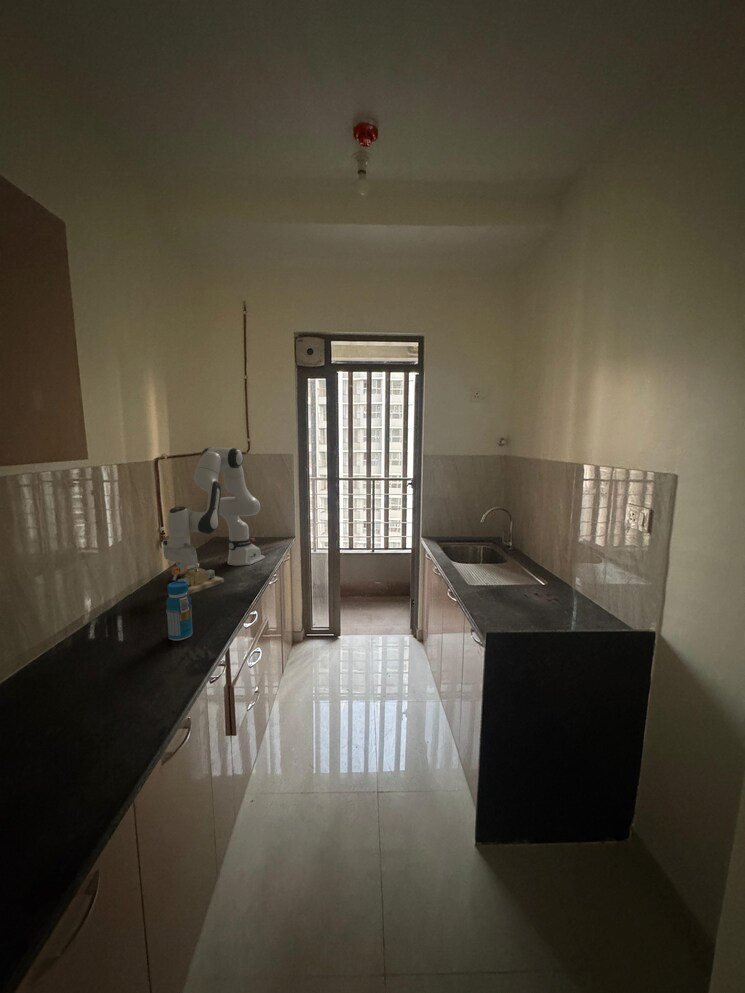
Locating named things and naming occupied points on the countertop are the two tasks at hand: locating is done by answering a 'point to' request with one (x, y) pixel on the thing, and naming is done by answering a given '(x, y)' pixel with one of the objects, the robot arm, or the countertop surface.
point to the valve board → (205, 585)
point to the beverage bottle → (179, 611)
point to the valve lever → (176, 572)
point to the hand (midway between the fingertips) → (181, 571)
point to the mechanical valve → (180, 575)
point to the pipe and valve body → (198, 576)
